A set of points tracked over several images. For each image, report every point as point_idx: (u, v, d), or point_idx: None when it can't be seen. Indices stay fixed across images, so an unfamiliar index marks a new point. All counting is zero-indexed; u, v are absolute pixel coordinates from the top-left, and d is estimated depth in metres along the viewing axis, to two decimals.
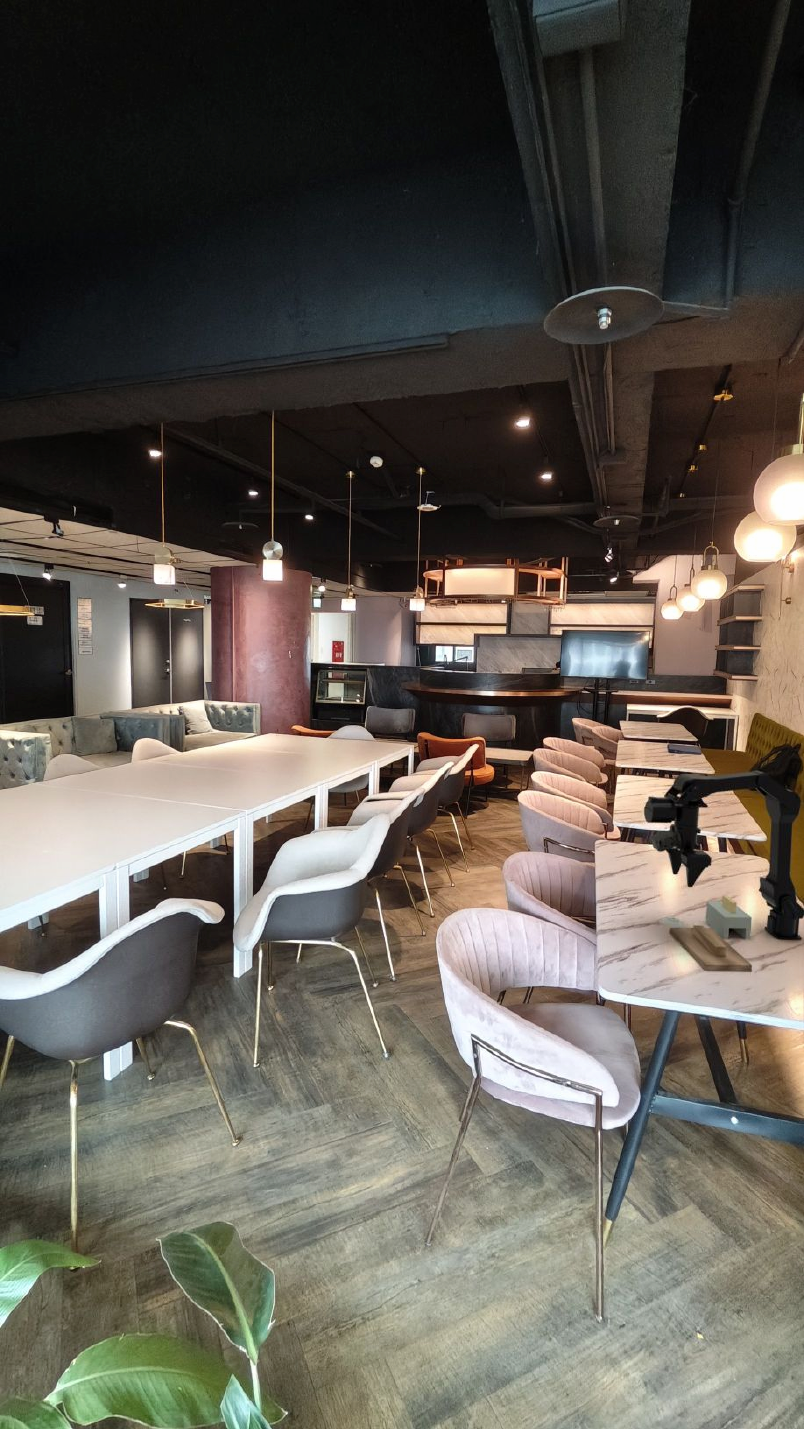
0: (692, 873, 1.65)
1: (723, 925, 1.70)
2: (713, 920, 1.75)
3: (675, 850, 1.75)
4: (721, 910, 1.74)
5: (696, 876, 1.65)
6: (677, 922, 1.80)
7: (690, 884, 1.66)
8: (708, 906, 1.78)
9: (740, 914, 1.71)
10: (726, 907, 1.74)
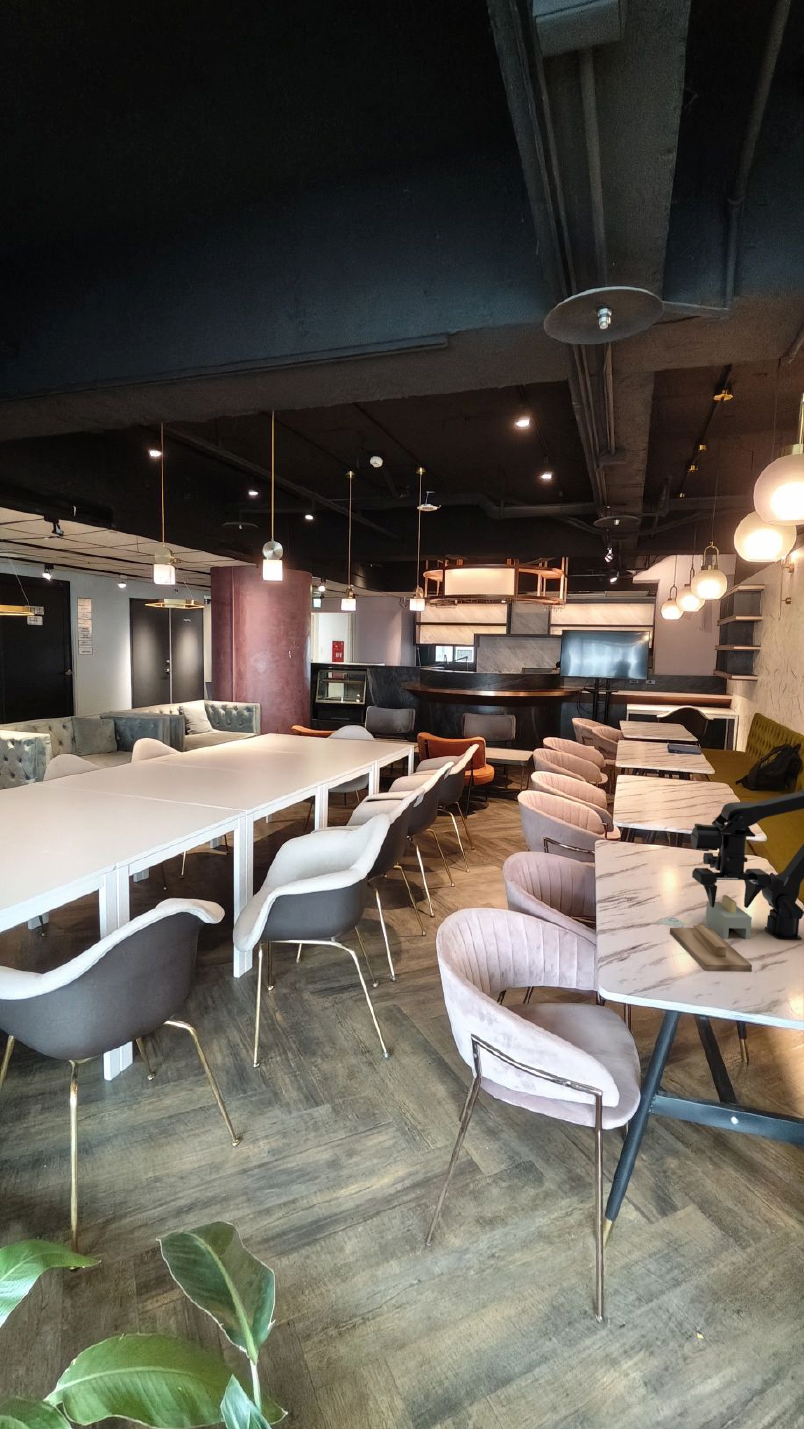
0: (708, 892, 1.74)
1: (723, 925, 1.70)
2: (713, 920, 1.75)
3: (749, 884, 1.74)
4: (721, 910, 1.74)
5: (710, 896, 1.73)
6: (677, 922, 1.80)
7: (710, 903, 1.74)
8: (708, 906, 1.78)
9: (740, 914, 1.71)
10: (726, 907, 1.74)
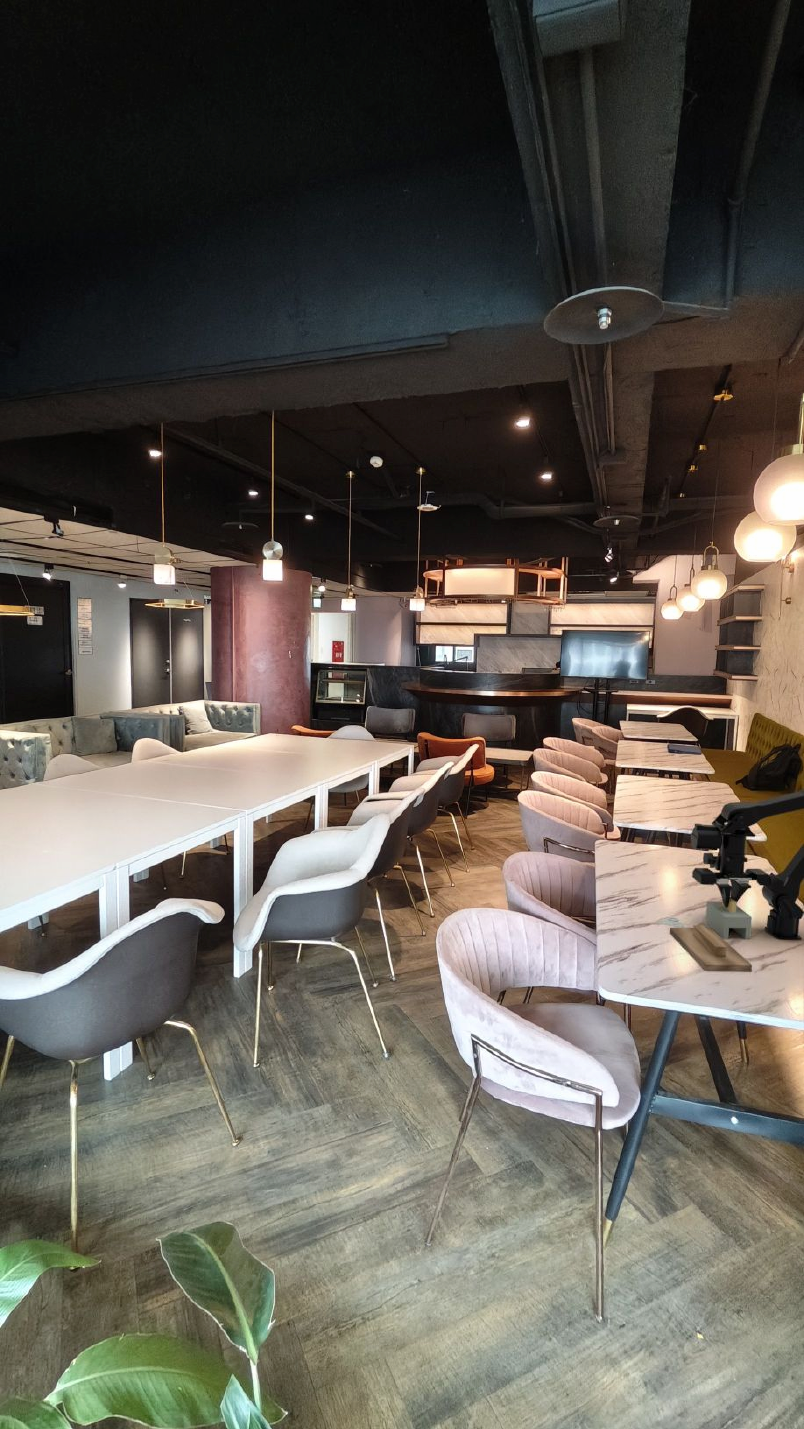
0: (722, 892, 1.74)
1: (723, 925, 1.70)
2: (713, 920, 1.75)
3: (735, 883, 1.73)
4: (721, 909, 1.74)
5: (724, 896, 1.73)
6: (677, 922, 1.80)
7: (724, 903, 1.74)
8: (708, 906, 1.78)
9: (740, 914, 1.71)
10: None
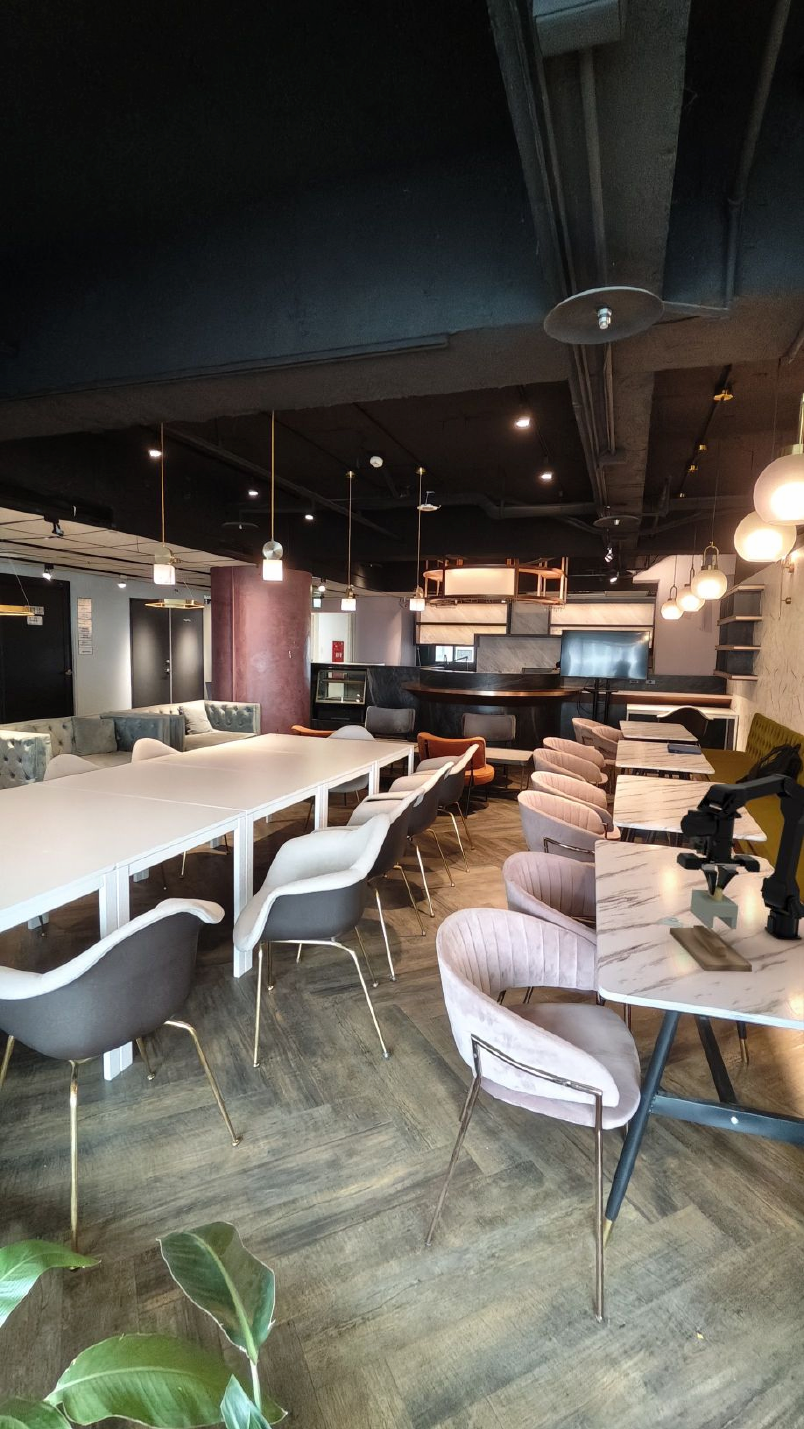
0: (708, 879, 1.64)
1: (708, 913, 1.60)
2: (698, 908, 1.66)
3: (722, 870, 1.64)
4: (706, 897, 1.64)
5: (710, 883, 1.63)
6: (677, 922, 1.80)
7: (710, 890, 1.64)
8: (693, 894, 1.68)
9: (726, 903, 1.61)
10: (712, 895, 1.64)
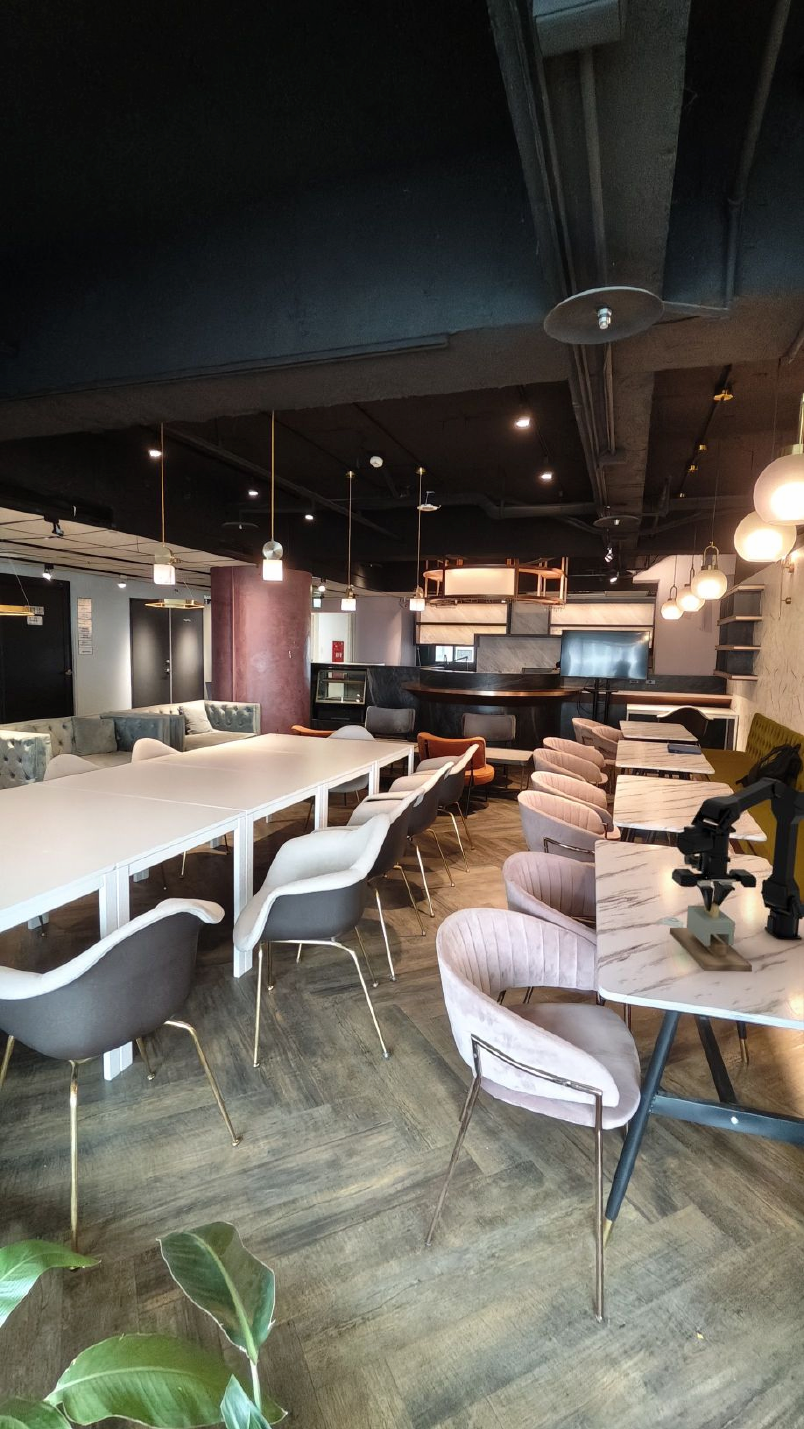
0: (704, 895, 1.61)
1: (704, 931, 1.58)
2: (694, 925, 1.63)
3: (717, 885, 1.61)
4: (702, 914, 1.61)
5: (706, 899, 1.60)
6: (677, 922, 1.80)
7: (706, 906, 1.62)
8: (689, 910, 1.66)
9: (723, 919, 1.58)
10: None
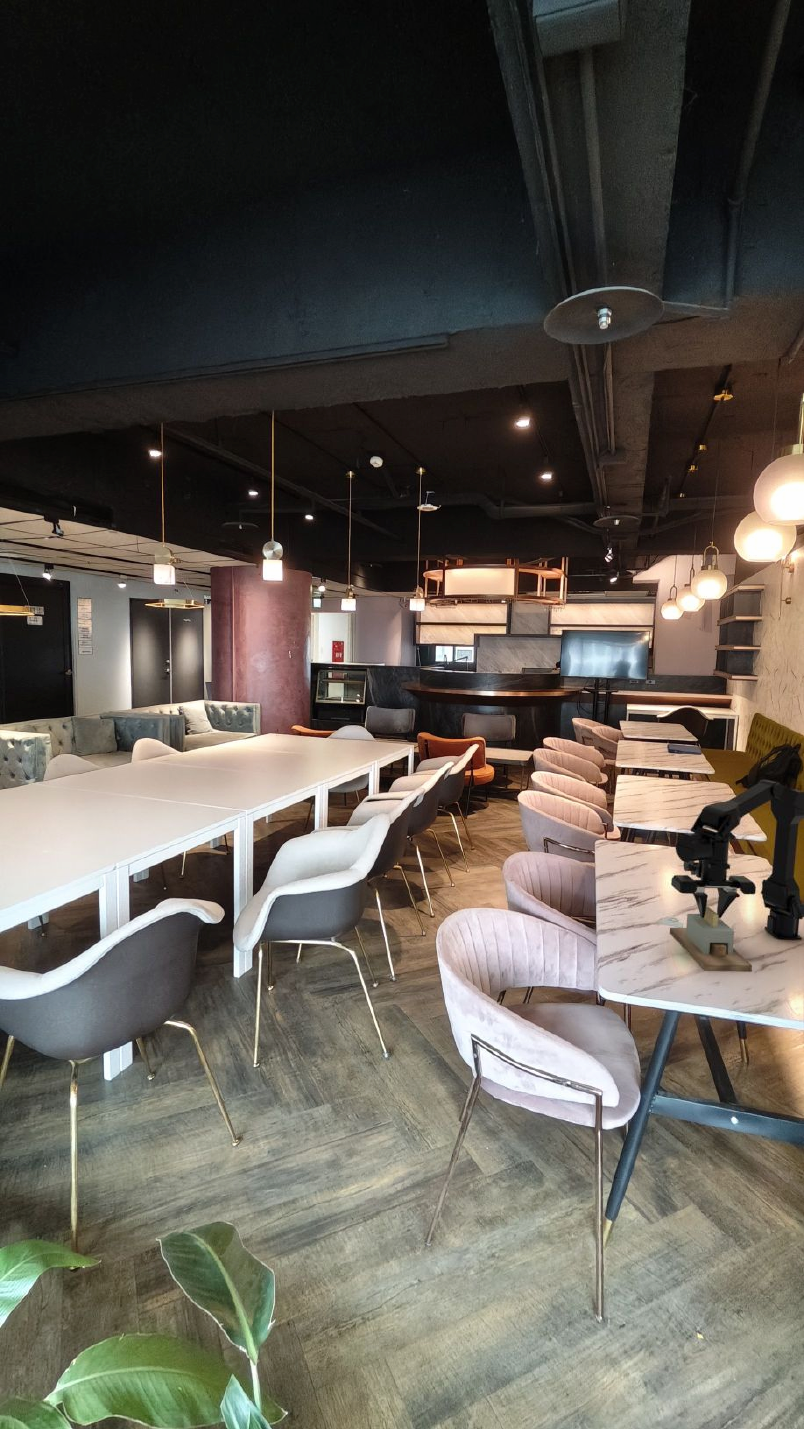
0: (698, 901, 1.61)
1: (704, 939, 1.58)
2: (693, 934, 1.63)
3: (722, 892, 1.61)
4: (702, 923, 1.61)
5: (700, 905, 1.60)
6: (677, 922, 1.80)
7: (700, 913, 1.62)
8: (688, 918, 1.66)
9: (722, 928, 1.59)
10: (707, 920, 1.62)
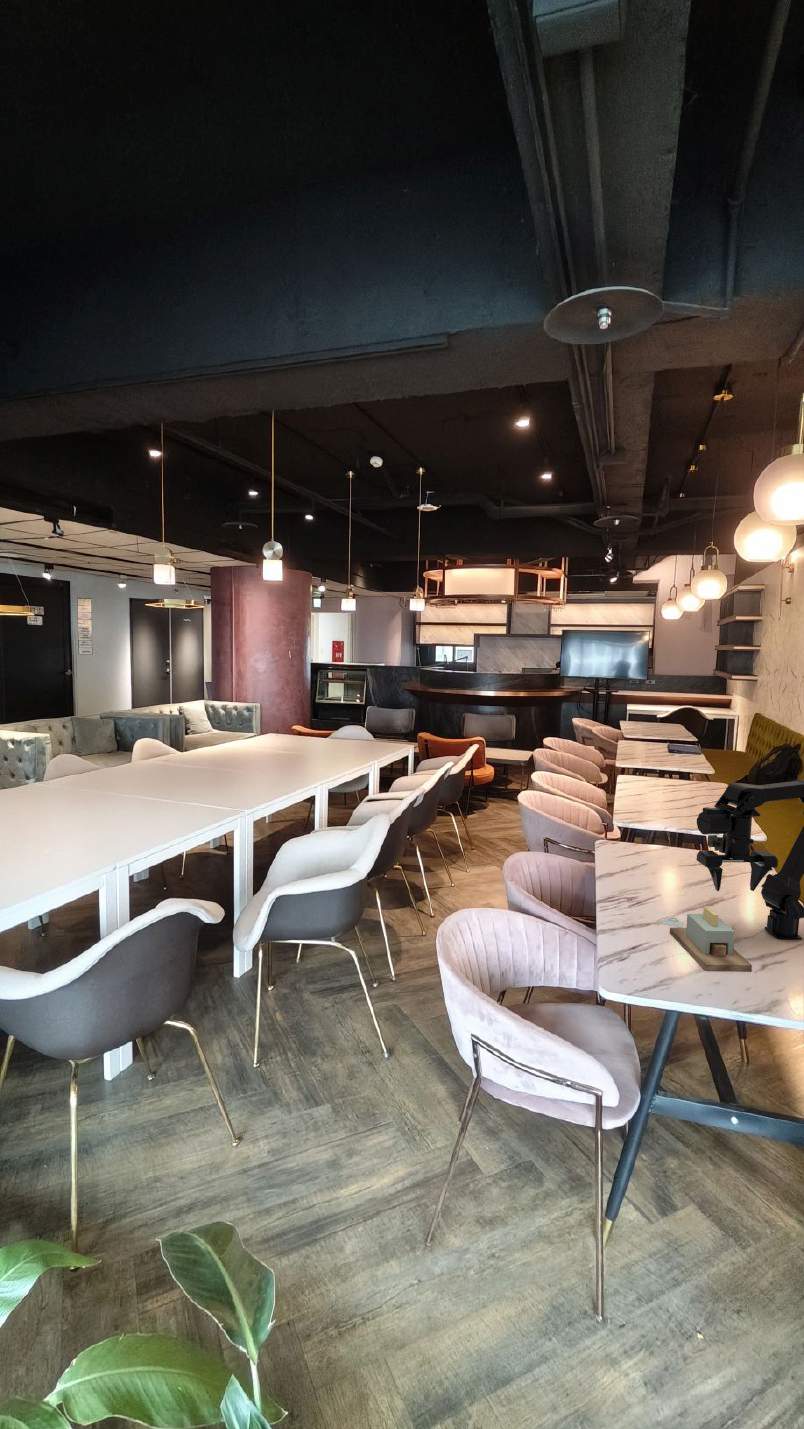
0: (713, 875, 1.69)
1: (704, 939, 1.58)
2: (693, 934, 1.63)
3: (755, 866, 1.69)
4: (702, 923, 1.61)
5: (715, 879, 1.68)
6: (677, 922, 1.80)
7: (715, 886, 1.69)
8: (688, 918, 1.66)
9: (722, 928, 1.59)
10: (707, 920, 1.62)
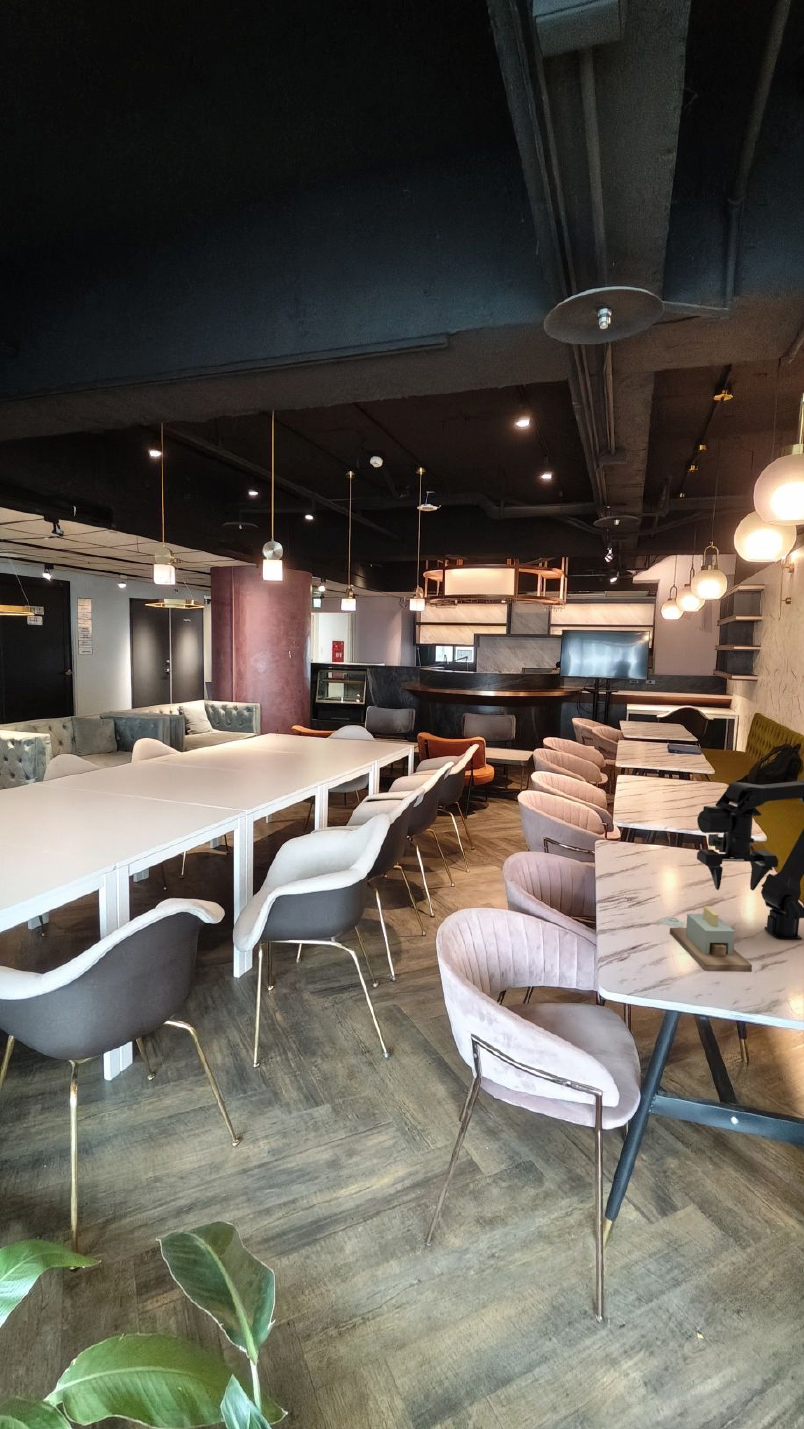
0: (713, 874, 1.69)
1: (704, 939, 1.58)
2: (693, 934, 1.63)
3: (755, 865, 1.69)
4: (702, 923, 1.61)
5: (715, 878, 1.68)
6: (677, 922, 1.80)
7: (715, 885, 1.69)
8: (688, 918, 1.66)
9: (722, 928, 1.59)
10: (707, 920, 1.62)
